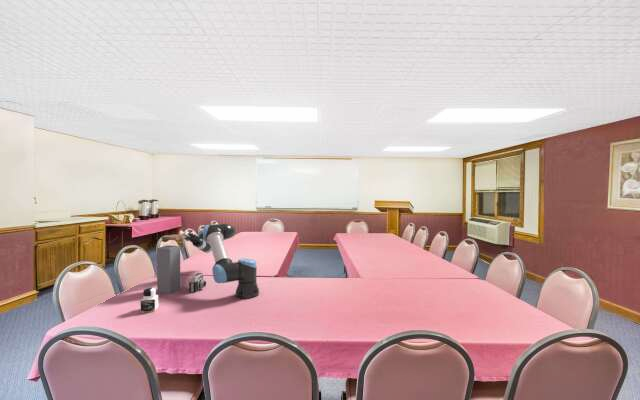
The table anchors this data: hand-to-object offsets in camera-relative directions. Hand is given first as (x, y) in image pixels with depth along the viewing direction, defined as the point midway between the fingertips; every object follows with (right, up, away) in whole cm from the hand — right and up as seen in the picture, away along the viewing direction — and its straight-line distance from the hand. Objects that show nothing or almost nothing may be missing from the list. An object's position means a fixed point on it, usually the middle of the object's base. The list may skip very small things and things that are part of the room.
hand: (182, 231), depth 210 cm
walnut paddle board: (-1, -4, -4) cm, 5 cm away
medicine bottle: (+4, -40, -47) cm, 61 cm away
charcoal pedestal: (-2, -39, -15) cm, 41 cm away
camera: (+17, -39, -12) cm, 44 cm away
